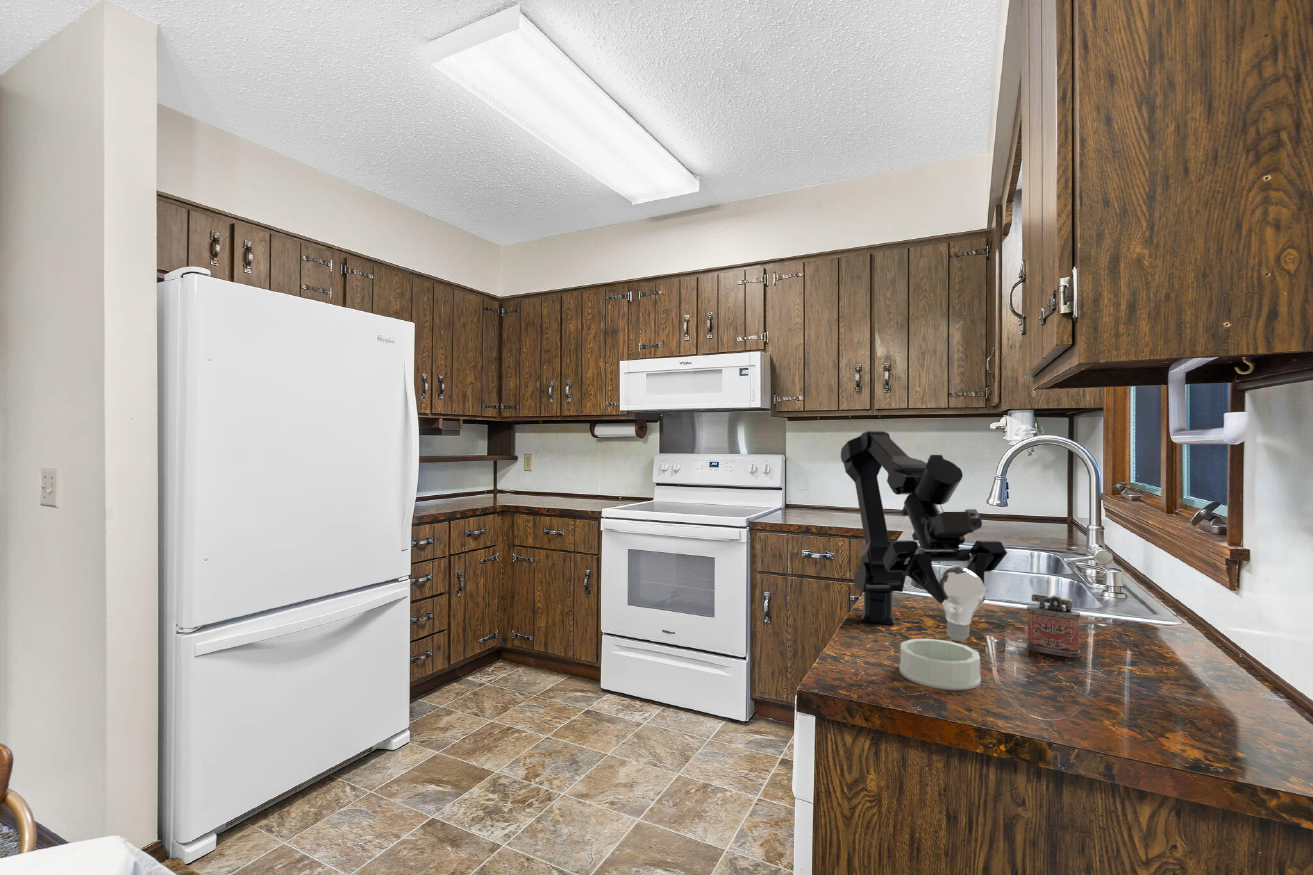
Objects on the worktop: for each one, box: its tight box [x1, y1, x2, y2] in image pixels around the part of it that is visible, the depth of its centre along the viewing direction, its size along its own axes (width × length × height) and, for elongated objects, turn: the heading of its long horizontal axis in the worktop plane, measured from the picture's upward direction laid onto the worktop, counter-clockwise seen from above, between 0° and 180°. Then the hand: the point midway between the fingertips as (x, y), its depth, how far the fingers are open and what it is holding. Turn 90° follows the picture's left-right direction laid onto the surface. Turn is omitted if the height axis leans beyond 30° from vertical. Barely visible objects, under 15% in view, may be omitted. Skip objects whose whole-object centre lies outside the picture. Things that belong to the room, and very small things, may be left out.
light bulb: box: [937, 566, 986, 644], centre depth 100 cm, size 7×7×12 cm
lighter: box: [1026, 593, 1081, 658], centre depth 112 cm, size 8×3×10 cm, turn 56°
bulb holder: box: [898, 638, 982, 691], centre depth 100 cm, size 12×12×4 cm
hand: (962, 601), depth 99 cm, fingers closed on light bulb, 6 cm apart
